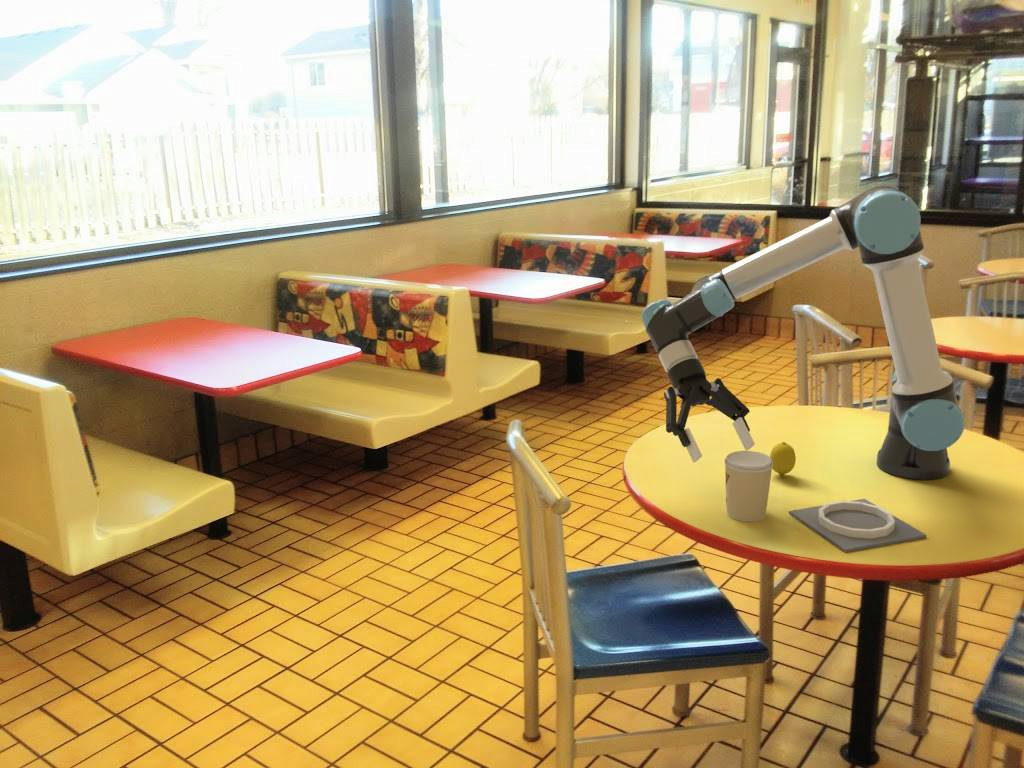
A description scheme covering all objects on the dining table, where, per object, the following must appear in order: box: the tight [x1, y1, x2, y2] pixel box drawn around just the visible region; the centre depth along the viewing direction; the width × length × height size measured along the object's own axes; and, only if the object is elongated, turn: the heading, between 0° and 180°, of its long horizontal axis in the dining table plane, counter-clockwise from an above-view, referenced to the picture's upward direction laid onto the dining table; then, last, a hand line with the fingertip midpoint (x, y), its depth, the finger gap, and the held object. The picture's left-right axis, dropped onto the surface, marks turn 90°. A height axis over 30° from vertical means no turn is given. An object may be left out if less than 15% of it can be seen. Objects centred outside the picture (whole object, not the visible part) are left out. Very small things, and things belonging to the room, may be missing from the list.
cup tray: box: [788, 498, 927, 553], centre depth 175 cm, size 18×18×2 cm
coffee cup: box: [724, 450, 773, 523], centre depth 180 cm, size 9×9×12 cm
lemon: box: [769, 441, 797, 477], centre depth 199 cm, size 6×6×8 cm
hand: (724, 453), depth 183 cm, fingers open, 13 cm apart
